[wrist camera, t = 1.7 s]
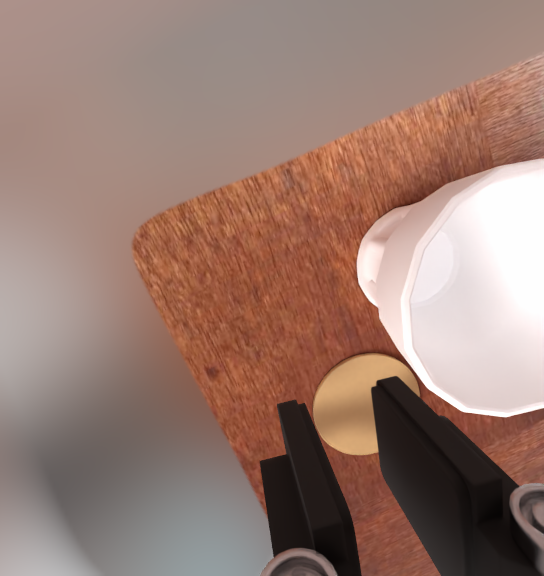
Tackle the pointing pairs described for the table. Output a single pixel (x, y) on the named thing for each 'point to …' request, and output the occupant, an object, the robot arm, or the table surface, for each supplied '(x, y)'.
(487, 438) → the table surface
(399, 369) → the coaster
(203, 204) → the table surface
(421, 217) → the cup
